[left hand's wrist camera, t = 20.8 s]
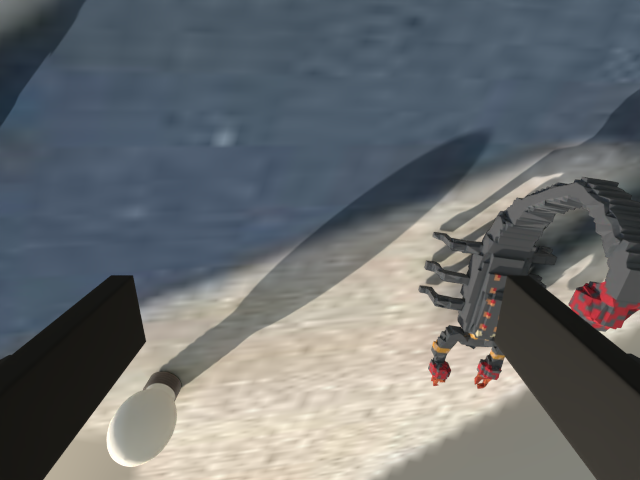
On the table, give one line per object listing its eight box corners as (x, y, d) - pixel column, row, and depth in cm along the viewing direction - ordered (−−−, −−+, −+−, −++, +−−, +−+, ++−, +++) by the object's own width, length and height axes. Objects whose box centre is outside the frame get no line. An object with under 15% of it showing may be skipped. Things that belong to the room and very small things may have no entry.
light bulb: (131, 386, 47) (79, 464, 37) (156, 352, 45) (108, 424, 35) (176, 410, 49) (138, 492, 38) (202, 378, 47) (169, 455, 36)
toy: (580, 167, 37) (801, 218, 20) (500, 373, 47) (606, 529, 29) (455, 149, 37) (574, 185, 20) (399, 361, 46) (447, 513, 29)
